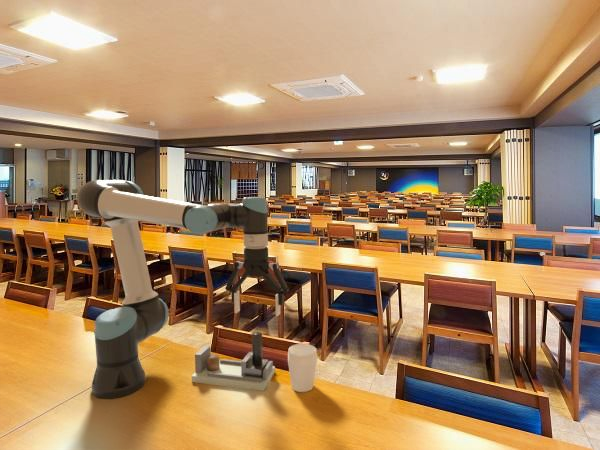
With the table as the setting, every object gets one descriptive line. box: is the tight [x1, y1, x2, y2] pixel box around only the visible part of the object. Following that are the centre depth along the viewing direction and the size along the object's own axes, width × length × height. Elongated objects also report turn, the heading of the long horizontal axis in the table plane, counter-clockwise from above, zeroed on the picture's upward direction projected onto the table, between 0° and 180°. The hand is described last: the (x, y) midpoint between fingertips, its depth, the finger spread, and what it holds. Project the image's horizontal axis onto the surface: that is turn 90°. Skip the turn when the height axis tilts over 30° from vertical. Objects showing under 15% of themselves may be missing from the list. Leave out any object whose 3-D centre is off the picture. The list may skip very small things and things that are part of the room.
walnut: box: [207, 353, 220, 371], centre depth 125 cm, size 4×4×4 cm
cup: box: [287, 343, 318, 393], centre depth 117 cm, size 9×9×12 cm
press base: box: [191, 344, 276, 392], centre depth 123 cm, size 24×12×8 cm, turn 77°
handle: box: [240, 331, 269, 378], centre depth 121 cm, size 7×7×13 cm
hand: (257, 313), depth 119 cm, fingers open, 13 cm apart
